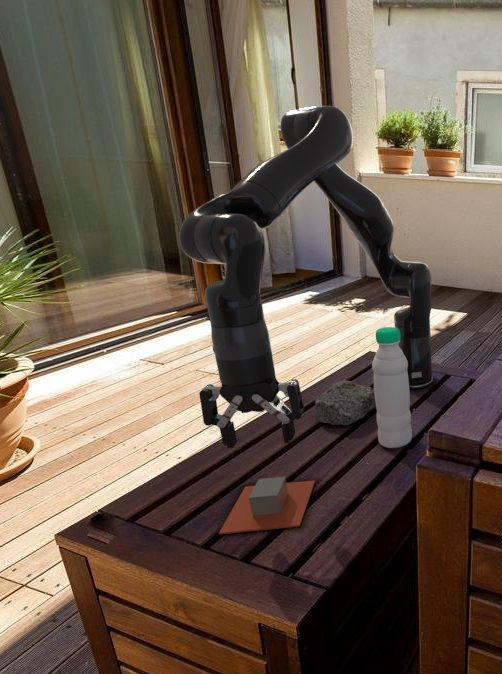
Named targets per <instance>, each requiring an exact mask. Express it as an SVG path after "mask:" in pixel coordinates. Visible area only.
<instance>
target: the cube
mask: <svg viewBox="0 0 502 674" xmlns="http://www.w3.org/2000/svg"><path fill="white" fill-rule="evenodd" d="M287 483H288V482H287V476H276V477H265V478H264V477H263V478H258V479H257V482H256V483H255V485H254V486H255V487H254V489H253V491H252V493H251V494H250V496H249V502H250V507H251V512H252V516H256V515H267V514H277V513H281V510H282V508H283V506H284V503H285V501H286V498H287V496H288V489H287Z"/></svg>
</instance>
